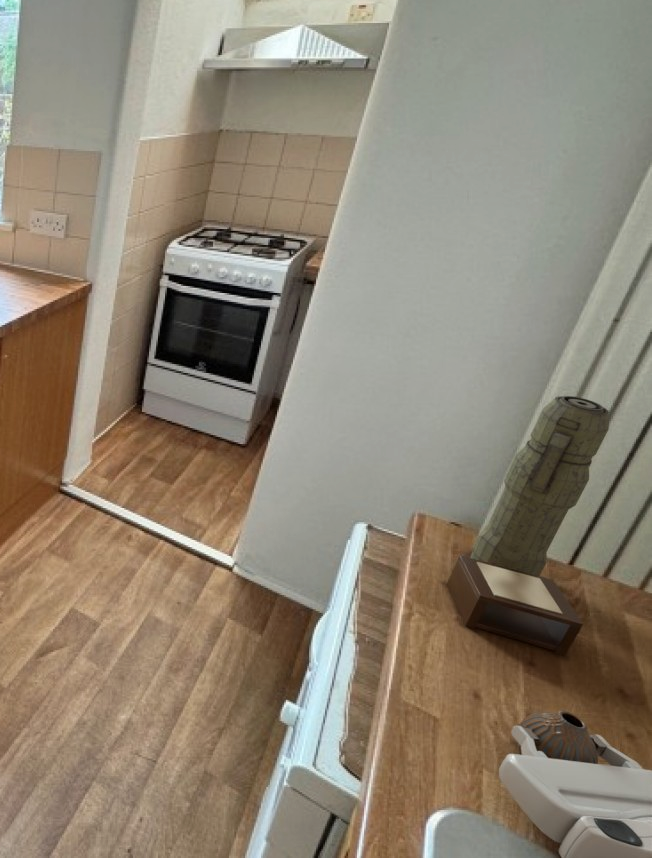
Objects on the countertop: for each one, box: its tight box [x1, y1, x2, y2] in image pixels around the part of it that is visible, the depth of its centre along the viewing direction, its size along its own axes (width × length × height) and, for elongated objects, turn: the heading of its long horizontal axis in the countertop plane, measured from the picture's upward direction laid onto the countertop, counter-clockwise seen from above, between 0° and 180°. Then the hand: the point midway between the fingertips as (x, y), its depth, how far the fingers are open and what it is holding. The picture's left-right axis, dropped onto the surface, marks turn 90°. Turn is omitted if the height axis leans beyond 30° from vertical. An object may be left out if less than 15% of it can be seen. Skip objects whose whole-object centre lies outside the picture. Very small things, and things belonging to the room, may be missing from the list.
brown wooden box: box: [446, 554, 584, 657], centre depth 98 cm, size 12×10×7 cm
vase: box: [514, 710, 599, 764], centre depth 76 cm, size 7×7×9 cm
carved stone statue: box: [469, 395, 610, 576], centre depth 102 cm, size 9×12×35 cm
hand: (553, 733), depth 76 cm, fingers closed on vase, 7 cm apart
